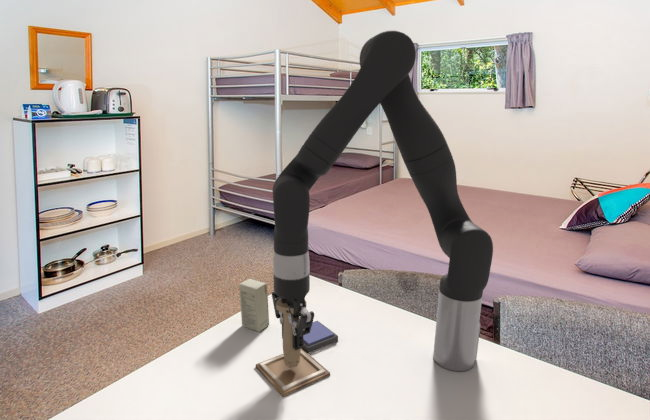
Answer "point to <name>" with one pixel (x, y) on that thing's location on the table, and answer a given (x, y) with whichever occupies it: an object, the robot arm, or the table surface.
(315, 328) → the ink pad
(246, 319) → the skincare box
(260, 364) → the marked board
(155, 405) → the table surface
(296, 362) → the handle
